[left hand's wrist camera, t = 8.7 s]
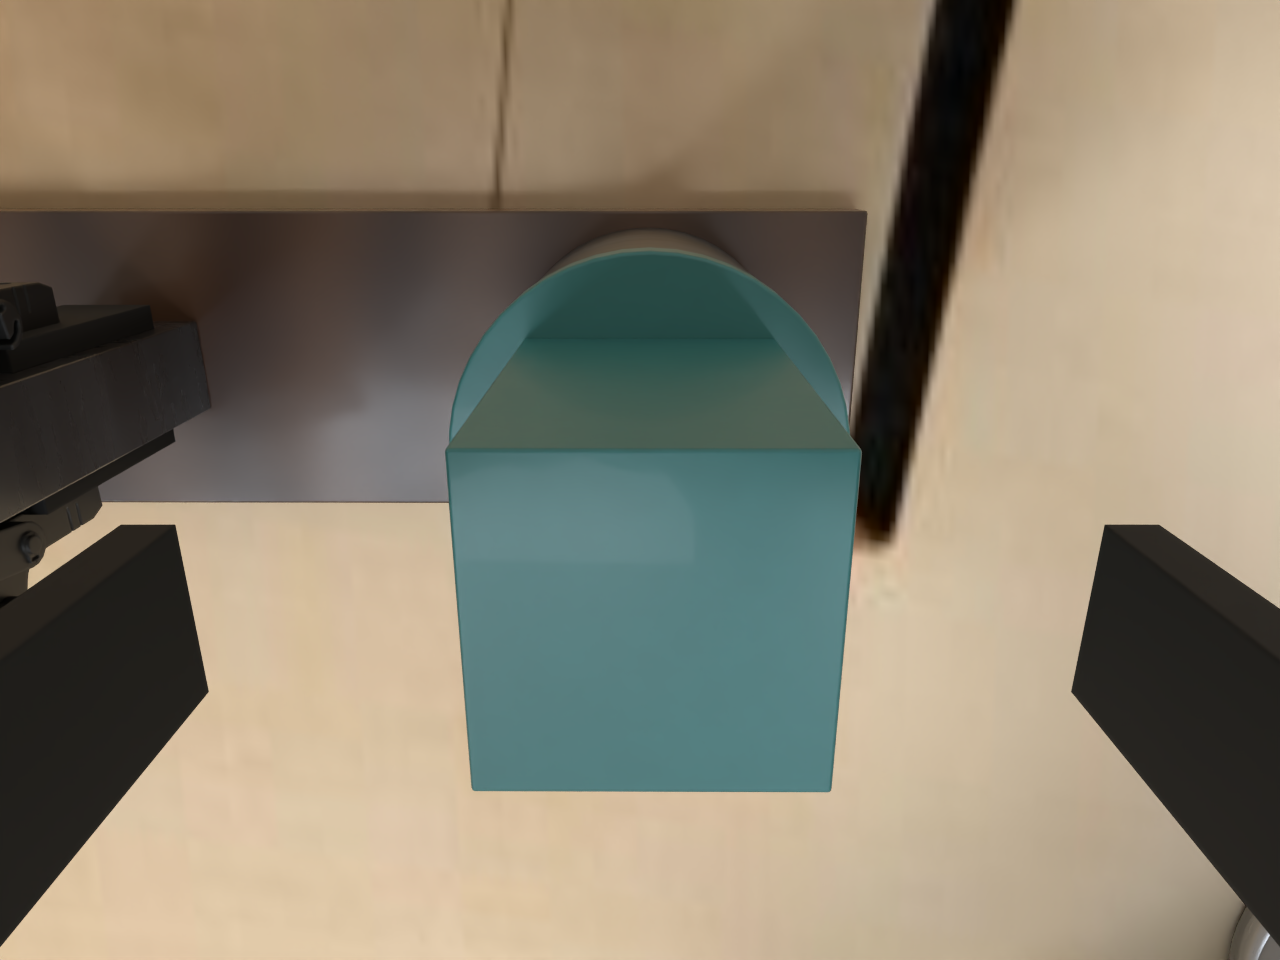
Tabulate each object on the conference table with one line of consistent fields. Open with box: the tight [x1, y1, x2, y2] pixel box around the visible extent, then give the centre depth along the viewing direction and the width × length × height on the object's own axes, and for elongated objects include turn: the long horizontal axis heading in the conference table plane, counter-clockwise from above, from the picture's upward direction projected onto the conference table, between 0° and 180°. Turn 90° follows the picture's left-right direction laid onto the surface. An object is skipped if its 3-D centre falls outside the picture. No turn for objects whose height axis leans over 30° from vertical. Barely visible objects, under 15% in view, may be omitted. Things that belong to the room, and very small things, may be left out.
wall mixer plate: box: [0, 209, 867, 523], centre depth 25 cm, size 30×10×12 cm, turn 90°
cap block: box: [445, 247, 862, 792], centre depth 16 cm, size 9×9×9 cm
